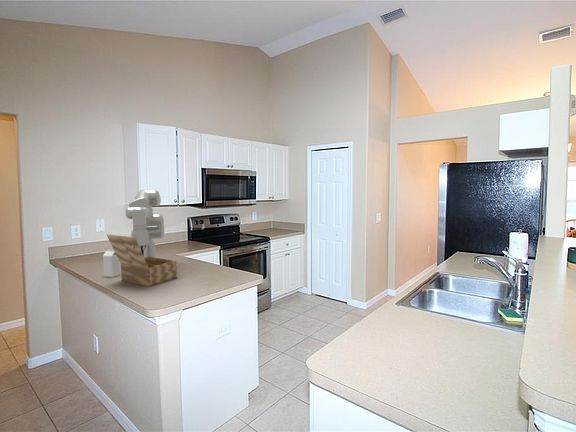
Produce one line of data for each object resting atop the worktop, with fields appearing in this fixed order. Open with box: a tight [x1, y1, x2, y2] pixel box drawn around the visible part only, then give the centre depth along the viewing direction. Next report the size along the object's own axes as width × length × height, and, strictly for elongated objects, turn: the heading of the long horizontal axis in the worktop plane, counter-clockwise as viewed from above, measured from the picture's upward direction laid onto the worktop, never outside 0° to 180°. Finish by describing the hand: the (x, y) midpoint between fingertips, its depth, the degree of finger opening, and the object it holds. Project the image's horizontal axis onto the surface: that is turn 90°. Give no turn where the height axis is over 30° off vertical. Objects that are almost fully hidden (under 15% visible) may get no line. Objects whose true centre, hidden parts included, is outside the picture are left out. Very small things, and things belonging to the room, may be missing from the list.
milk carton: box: [102, 248, 121, 278], centre depth 224 cm, size 7×7×19 cm
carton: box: [120, 257, 178, 287], centre depth 216 cm, size 22×28×12 cm
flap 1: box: [106, 233, 134, 265], centre depth 204 cm, size 22×14×1 cm
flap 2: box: [120, 235, 148, 268], centre depth 198 cm, size 22×14×1 cm
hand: (140, 256), depth 200 cm, fingers closed
